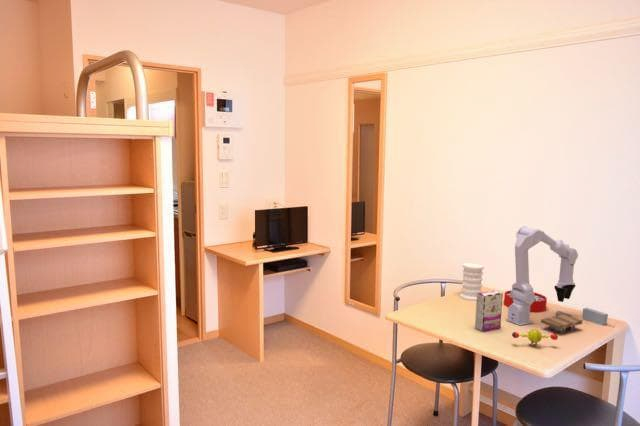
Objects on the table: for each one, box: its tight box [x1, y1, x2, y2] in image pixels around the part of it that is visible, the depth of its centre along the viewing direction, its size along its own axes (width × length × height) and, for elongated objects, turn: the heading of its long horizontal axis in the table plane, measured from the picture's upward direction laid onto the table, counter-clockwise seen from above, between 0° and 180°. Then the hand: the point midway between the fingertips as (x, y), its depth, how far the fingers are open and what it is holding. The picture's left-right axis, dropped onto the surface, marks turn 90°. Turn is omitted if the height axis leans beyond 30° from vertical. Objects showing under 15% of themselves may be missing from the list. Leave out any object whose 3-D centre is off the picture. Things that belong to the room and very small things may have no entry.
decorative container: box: [459, 262, 485, 302], centre depth 255 cm, size 12×12×18 cm
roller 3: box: [565, 325, 576, 331], centre depth 214 cm, size 3×6×3 cm, turn 29°
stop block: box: [581, 307, 609, 326], centre depth 224 cm, size 3×10×5 cm, turn 29°
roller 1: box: [555, 310, 573, 317], centre depth 227 cm, size 3×6×3 cm, turn 29°
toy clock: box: [503, 289, 548, 314], centre depth 244 cm, size 20×6×20 cm
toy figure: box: [511, 328, 559, 347], centre depth 192 cm, size 18×6×7 cm, turn 88°
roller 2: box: [548, 325, 567, 334], centre depth 210 cm, size 3×6×3 cm, turn 29°
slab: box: [540, 314, 583, 329], centre depth 211 cm, size 16×9×2 cm, turn 119°
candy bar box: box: [474, 289, 504, 333], centre depth 209 cm, size 11×5×16 cm, turn 117°
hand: (563, 300), depth 227 cm, fingers open, 7 cm apart
